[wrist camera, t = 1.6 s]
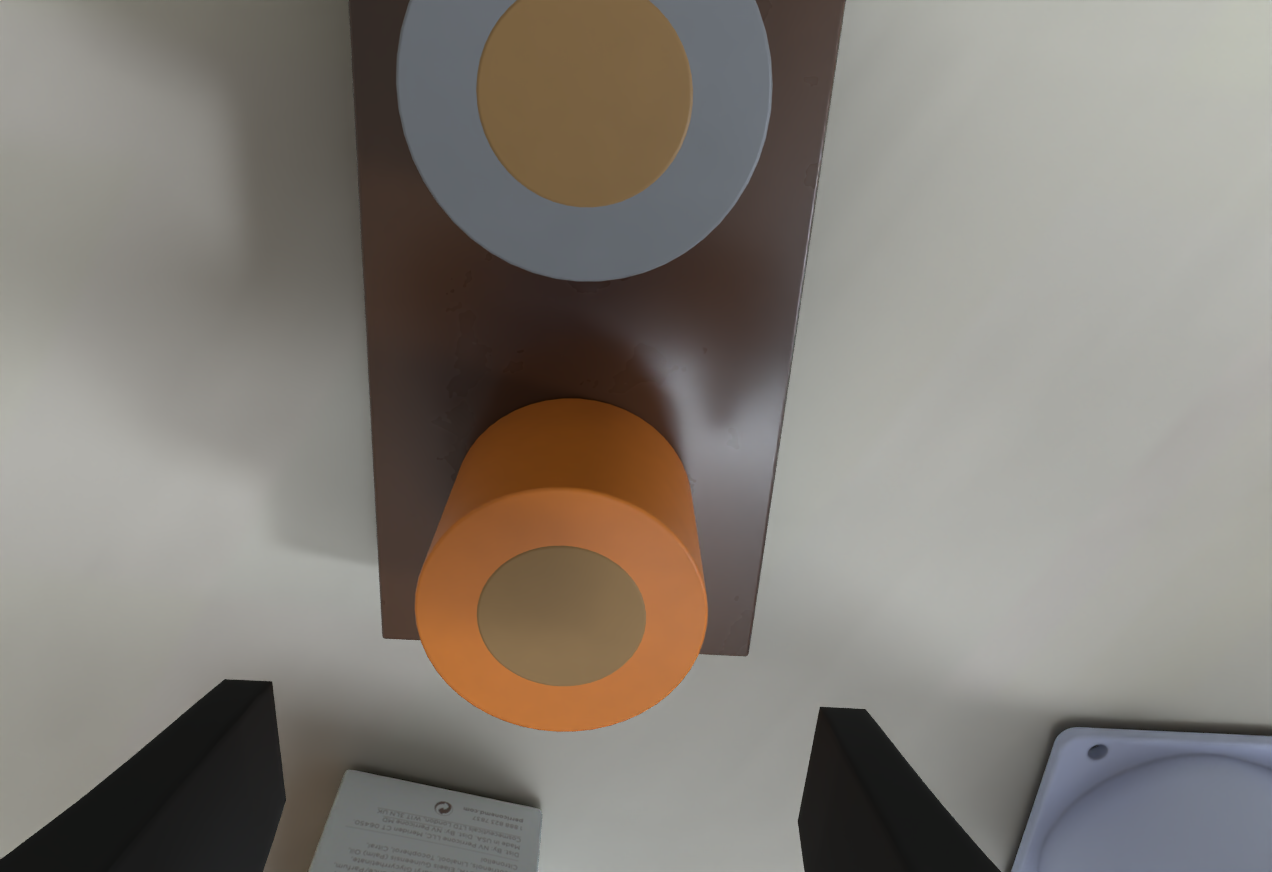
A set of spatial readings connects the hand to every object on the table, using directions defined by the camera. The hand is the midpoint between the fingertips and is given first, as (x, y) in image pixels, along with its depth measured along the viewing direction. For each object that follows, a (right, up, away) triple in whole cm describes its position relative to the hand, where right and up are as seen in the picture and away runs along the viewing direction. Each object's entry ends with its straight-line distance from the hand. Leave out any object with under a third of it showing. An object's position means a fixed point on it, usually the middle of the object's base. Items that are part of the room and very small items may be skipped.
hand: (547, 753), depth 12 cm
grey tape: (0, +10, +3) cm, 10 cm away
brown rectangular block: (0, +7, +7) cm, 10 cm away
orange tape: (0, +3, +6) cm, 7 cm away
